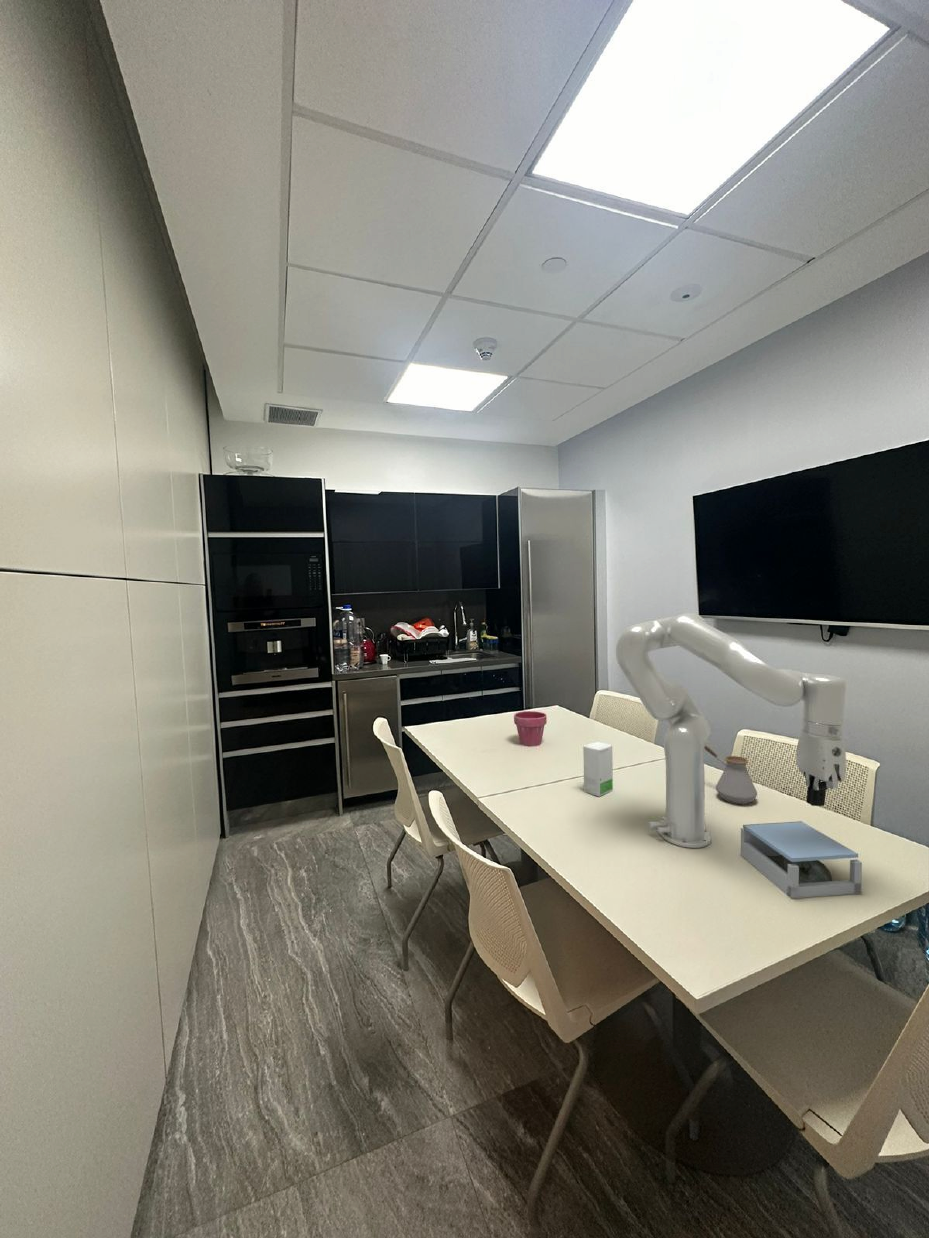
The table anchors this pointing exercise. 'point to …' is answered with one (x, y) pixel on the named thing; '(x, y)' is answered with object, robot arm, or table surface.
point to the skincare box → (598, 768)
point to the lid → (808, 870)
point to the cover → (799, 841)
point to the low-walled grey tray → (795, 872)
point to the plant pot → (530, 727)
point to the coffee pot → (735, 780)
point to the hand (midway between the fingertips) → (815, 804)
